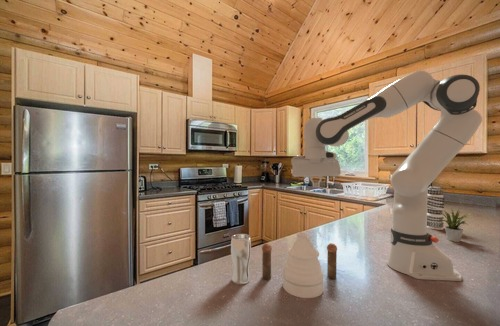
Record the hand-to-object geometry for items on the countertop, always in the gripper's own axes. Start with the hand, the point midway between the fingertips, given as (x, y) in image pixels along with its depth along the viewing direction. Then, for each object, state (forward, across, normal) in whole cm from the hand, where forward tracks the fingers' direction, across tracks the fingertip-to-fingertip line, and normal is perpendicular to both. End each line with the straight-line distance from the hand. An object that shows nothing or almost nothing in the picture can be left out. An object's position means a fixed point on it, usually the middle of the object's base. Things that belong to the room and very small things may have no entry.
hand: (316, 187), depth 103 cm
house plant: (+30, +68, +38) cm, 84 cm away
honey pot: (+31, -6, -26) cm, 41 cm away
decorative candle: (+29, +70, +63) cm, 99 cm away
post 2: (+31, +4, -17) cm, 36 cm away
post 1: (+30, -18, -23) cm, 42 cm away
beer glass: (+30, -27, -27) cm, 49 cm away
